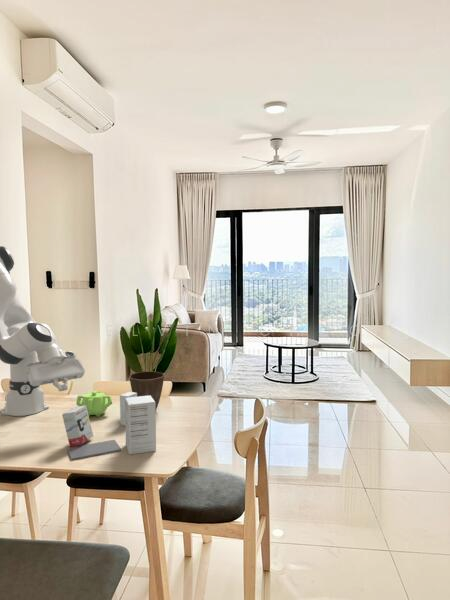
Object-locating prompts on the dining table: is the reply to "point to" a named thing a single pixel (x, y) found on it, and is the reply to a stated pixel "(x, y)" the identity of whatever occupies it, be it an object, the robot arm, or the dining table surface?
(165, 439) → the dining table surface
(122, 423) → the skincare box
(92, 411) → the teapot
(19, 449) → the dining table surface
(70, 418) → the ink box
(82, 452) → the slate tile
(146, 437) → the supplement box
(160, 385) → the plant pot
